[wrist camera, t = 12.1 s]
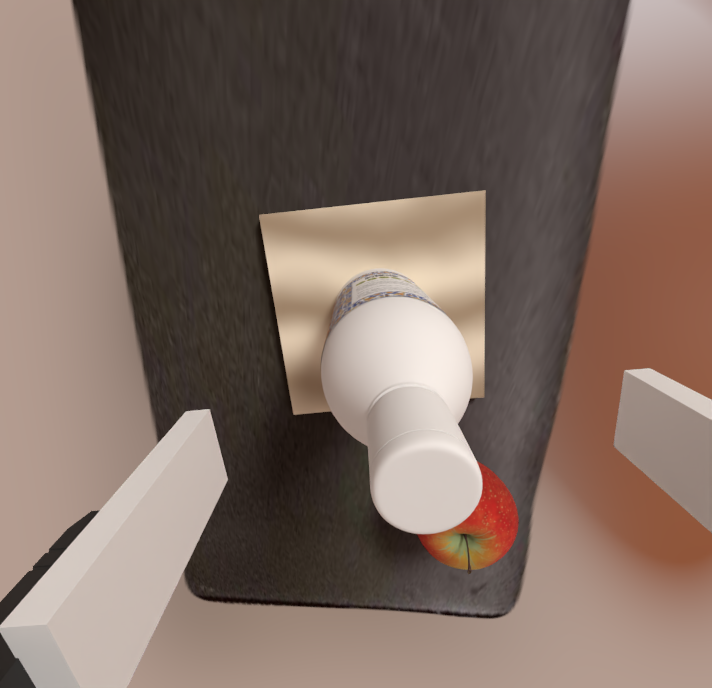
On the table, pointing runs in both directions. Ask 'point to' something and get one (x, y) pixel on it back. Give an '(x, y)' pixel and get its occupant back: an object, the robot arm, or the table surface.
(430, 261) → the birch board
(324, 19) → the table surface
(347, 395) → the bath foam
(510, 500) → the apple
